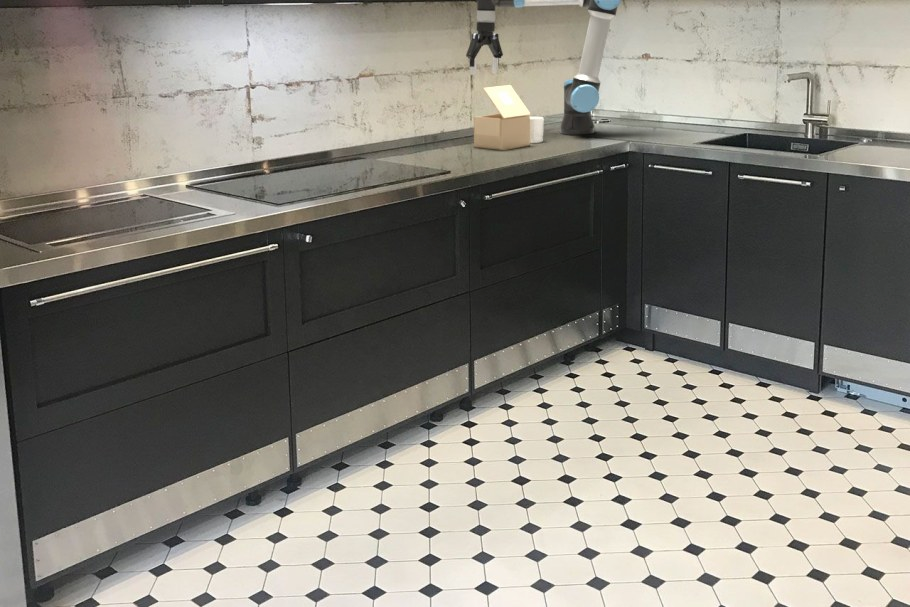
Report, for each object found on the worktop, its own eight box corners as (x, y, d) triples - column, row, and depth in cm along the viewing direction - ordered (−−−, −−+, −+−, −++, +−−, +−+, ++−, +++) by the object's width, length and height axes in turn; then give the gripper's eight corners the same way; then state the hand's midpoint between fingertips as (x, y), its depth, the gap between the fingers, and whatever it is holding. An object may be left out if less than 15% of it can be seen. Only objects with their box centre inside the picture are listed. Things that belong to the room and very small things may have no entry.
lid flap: (482, 88, 407) (483, 87, 406) (509, 85, 417) (510, 84, 416) (503, 118, 402) (504, 117, 402) (529, 115, 412) (530, 113, 412)
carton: (473, 147, 417) (472, 116, 413) (502, 142, 428) (501, 112, 424) (501, 150, 405) (501, 118, 402) (530, 145, 416) (530, 114, 413)
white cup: (544, 143, 423) (544, 118, 420) (525, 143, 423) (525, 119, 420) (543, 140, 430) (543, 116, 427) (524, 140, 430) (524, 116, 427)
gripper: (498, 21, 433) (497, 72, 439) (458, 21, 416) (457, 74, 422) (512, 21, 428) (510, 73, 434) (471, 21, 411) (470, 75, 417)
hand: (484, 74), depth 428 cm, fingers open, 13 cm apart
